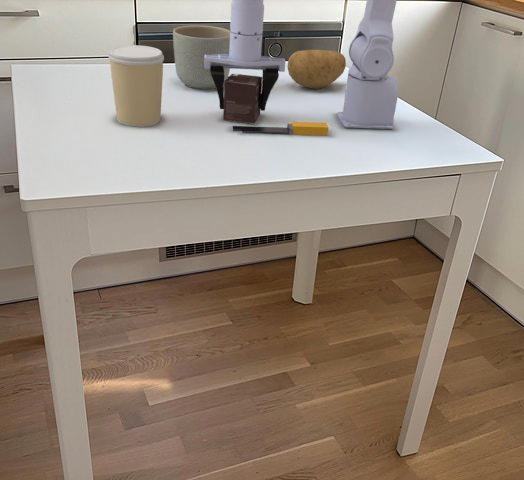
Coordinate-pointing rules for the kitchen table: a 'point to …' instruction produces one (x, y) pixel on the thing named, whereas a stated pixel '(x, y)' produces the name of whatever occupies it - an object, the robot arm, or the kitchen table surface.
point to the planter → (198, 53)
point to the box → (242, 98)
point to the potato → (316, 67)
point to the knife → (289, 129)
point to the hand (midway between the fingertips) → (242, 108)
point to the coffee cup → (137, 84)
